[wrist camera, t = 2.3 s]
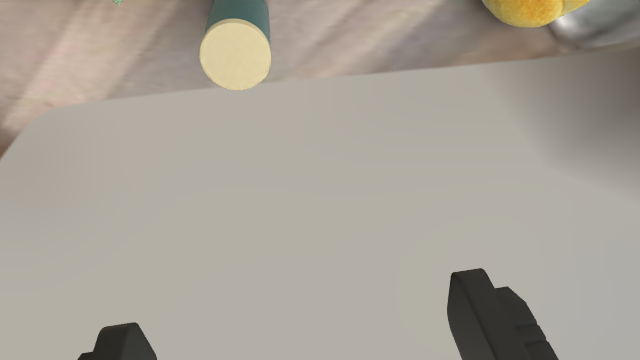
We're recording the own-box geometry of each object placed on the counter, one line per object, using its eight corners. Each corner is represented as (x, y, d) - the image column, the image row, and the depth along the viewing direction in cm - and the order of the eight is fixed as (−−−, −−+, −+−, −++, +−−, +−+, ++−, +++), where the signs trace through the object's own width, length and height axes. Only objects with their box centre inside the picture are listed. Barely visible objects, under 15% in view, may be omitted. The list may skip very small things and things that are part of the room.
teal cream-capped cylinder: (244, 53, 34) (241, 103, 27) (199, 16, 32) (184, 61, 25) (280, 12, 32) (285, 55, 26) (234, -29, 30) (228, 7, 24)
